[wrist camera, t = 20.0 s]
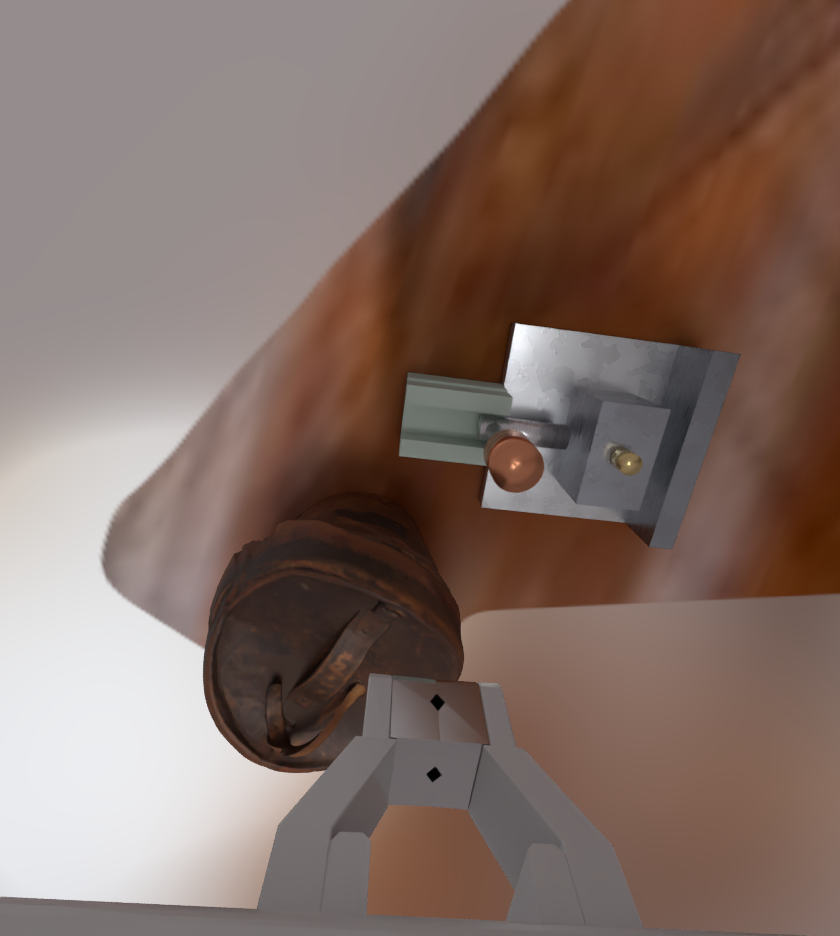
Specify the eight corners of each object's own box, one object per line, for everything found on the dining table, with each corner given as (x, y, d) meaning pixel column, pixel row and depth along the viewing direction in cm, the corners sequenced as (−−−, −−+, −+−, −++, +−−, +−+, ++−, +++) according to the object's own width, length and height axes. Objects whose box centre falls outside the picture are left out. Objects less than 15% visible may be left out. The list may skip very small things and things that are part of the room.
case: (273, 641, 48) (203, 825, 31) (246, 459, 41) (138, 565, 24) (444, 635, 48) (468, 811, 31) (445, 454, 42) (475, 554, 25)
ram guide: (500, 383, 39) (513, 394, 34) (488, 450, 41) (499, 469, 36) (407, 372, 39) (407, 381, 34) (399, 439, 41) (398, 458, 36)
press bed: (697, 347, 39) (747, 354, 33) (643, 518, 44) (677, 549, 38) (511, 322, 38) (529, 326, 32) (479, 500, 43) (489, 530, 37)
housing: (632, 393, 38) (682, 414, 31) (607, 482, 41) (648, 519, 34) (574, 386, 38) (612, 405, 31) (552, 476, 41) (583, 512, 33)
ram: (566, 415, 37) (621, 454, 27) (557, 452, 38) (607, 503, 28) (473, 403, 36) (496, 439, 27) (467, 442, 37) (486, 489, 28)
